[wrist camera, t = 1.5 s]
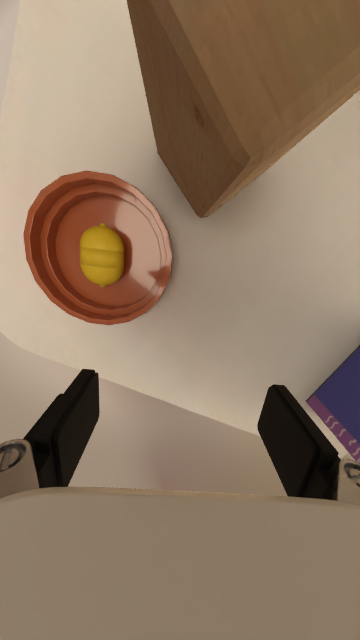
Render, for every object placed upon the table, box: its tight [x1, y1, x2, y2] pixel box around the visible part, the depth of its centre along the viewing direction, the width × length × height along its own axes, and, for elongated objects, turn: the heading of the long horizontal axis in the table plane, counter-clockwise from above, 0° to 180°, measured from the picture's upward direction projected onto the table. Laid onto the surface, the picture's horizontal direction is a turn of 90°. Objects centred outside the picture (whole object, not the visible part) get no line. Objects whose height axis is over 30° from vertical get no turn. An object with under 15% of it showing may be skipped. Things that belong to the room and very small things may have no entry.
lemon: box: [80, 223, 124, 287], centre depth 26 cm, size 8×5×5 cm
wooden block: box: [127, 0, 360, 218], centre depth 16 cm, size 10×10×20 cm
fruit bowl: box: [24, 171, 173, 325], centre depth 27 cm, size 17×17×4 cm
